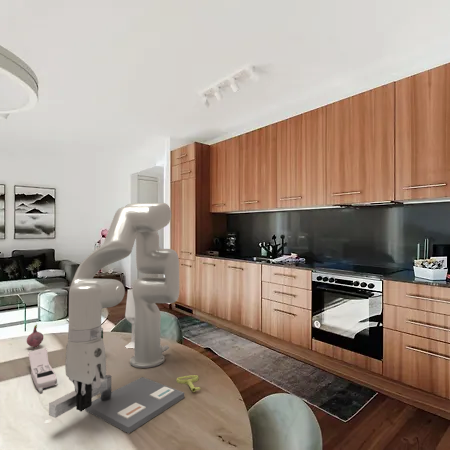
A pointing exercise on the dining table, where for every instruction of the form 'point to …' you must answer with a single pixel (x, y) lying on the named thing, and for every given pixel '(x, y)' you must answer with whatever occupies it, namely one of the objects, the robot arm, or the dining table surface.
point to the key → (189, 381)
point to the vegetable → (35, 338)
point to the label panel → (135, 403)
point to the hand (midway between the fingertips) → (84, 407)
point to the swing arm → (70, 399)
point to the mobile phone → (41, 369)
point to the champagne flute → (130, 316)
